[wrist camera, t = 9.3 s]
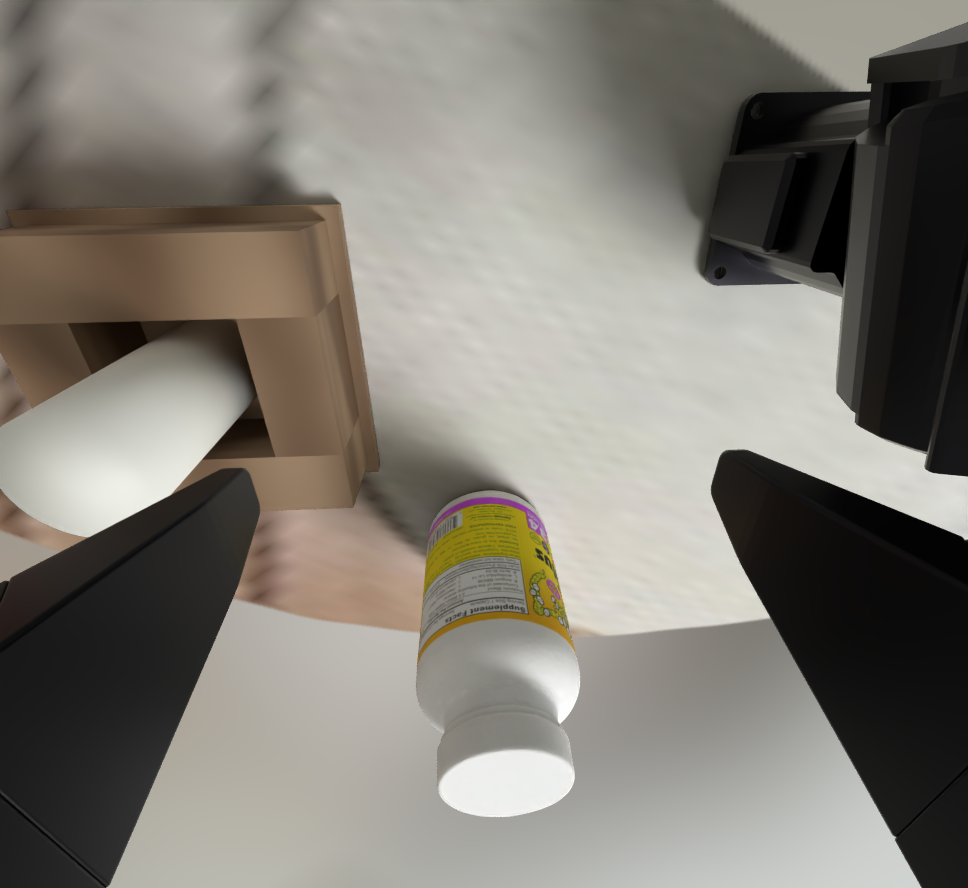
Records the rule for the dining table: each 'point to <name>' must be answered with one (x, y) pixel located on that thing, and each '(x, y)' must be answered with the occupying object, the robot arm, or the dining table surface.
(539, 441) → the dining table surface
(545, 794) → the supplement bottle
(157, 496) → the peg
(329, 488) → the socket
